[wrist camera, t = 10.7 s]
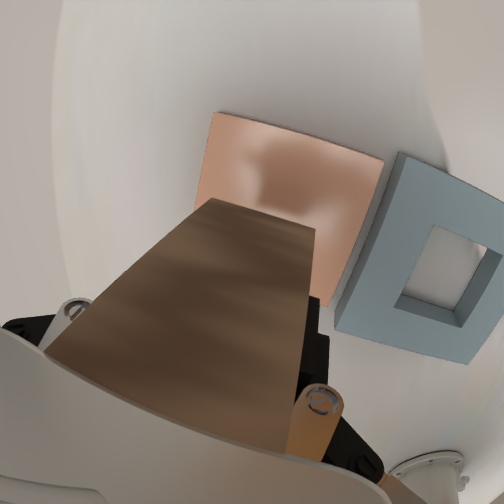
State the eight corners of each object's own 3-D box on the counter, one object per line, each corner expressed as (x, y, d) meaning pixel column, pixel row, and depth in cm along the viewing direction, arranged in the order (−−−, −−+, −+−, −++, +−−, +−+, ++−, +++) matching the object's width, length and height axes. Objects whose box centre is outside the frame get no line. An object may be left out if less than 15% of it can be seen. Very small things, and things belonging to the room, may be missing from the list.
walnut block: (315, 228, 14) (283, 461, 5) (284, 313, 17) (231, 517, 7) (211, 197, 15) (38, 356, 5) (195, 284, 17) (80, 454, 7)
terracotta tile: (381, 159, 20) (384, 162, 19) (327, 299, 26) (327, 307, 25) (219, 112, 21) (213, 112, 20) (191, 255, 27) (185, 261, 26)
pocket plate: (531, 219, 18) (546, 230, 16) (460, 347, 25) (467, 365, 23) (398, 151, 20) (407, 156, 17) (334, 311, 26) (334, 330, 24)
